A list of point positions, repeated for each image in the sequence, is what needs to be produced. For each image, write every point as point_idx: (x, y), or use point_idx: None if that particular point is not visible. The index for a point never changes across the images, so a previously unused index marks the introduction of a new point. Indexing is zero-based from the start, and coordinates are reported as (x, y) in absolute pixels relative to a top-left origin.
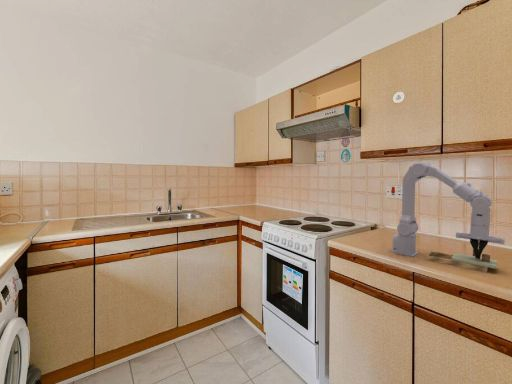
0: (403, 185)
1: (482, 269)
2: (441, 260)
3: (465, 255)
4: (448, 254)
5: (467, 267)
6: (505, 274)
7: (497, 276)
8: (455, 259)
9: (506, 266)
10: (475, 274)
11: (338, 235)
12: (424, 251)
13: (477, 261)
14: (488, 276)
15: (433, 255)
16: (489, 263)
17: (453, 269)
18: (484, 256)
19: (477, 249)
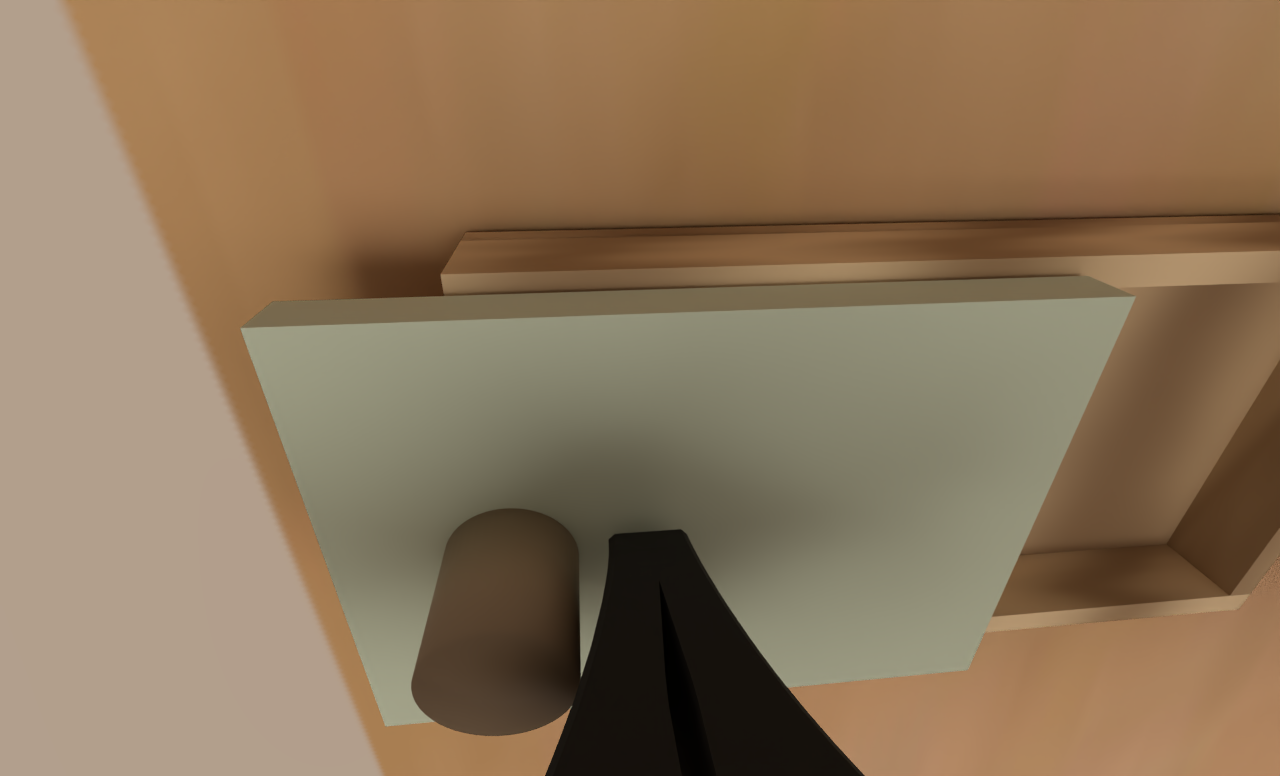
0: None
1: (525, 250)
2: (1214, 239)
3: (828, 646)
4: (1026, 612)
5: (767, 239)
6: (280, 469)
7: (315, 261)
8: (1037, 291)
9: (386, 761)
10: (616, 56)
11: None
12: (1167, 673)
13: (635, 413)
14: (415, 121)
15: (1161, 547)
16: (417, 445)
17: (970, 78)
18: (519, 604)
19: (705, 751)
